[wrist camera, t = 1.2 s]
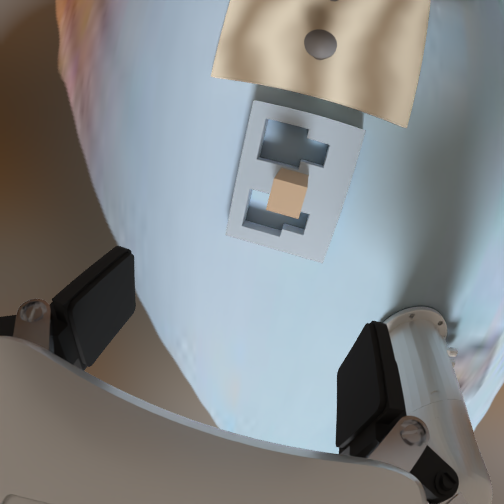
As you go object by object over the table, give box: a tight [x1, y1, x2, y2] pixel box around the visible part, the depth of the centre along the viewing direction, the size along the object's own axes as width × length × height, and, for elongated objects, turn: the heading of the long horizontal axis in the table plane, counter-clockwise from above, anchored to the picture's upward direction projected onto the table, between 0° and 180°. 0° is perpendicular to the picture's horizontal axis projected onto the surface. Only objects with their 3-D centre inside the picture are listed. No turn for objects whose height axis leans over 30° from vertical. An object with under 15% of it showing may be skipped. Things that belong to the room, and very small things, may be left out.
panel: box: [225, 100, 366, 263], centre depth 28 cm, size 12×16×8 cm
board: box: [211, 0, 430, 128], centre depth 21 cm, size 22×18×6 cm
